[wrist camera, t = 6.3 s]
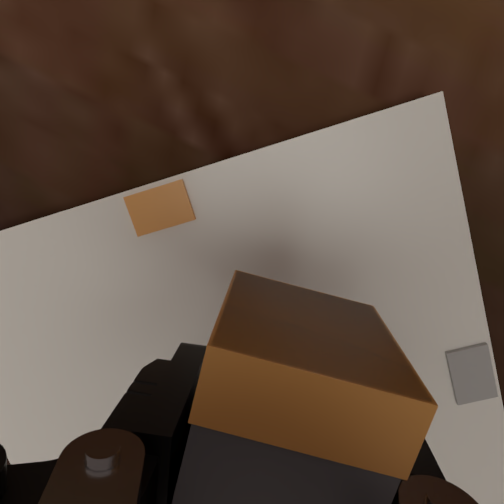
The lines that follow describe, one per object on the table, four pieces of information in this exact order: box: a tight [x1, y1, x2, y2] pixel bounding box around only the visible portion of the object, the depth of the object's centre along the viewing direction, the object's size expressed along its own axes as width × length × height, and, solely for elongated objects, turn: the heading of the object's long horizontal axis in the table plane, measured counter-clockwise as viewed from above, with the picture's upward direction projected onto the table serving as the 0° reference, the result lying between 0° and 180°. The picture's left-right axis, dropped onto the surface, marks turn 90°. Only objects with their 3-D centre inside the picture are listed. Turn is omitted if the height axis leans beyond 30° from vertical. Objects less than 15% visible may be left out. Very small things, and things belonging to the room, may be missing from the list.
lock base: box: [0, 91, 504, 504], centre depth 16 cm, size 22×22×6 cm
